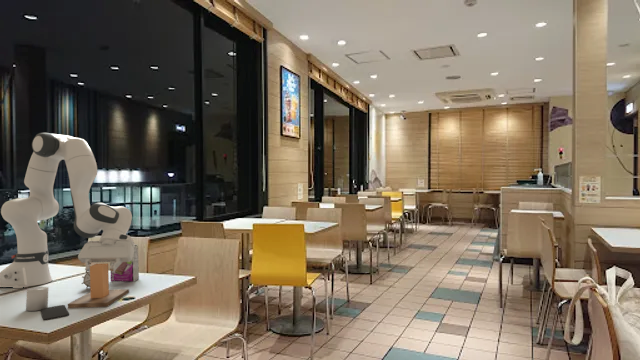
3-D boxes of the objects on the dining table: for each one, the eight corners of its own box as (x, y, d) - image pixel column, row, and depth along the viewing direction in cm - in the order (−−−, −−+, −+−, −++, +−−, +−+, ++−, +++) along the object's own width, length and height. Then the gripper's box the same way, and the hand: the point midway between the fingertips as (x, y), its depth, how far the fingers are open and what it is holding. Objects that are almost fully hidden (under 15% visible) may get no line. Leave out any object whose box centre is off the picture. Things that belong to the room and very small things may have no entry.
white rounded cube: (28, 311, 142) (29, 291, 142) (23, 308, 146) (24, 288, 147) (49, 308, 147) (50, 288, 147) (44, 305, 151) (45, 286, 151)
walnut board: (67, 307, 147) (67, 303, 147) (94, 293, 165) (93, 290, 165) (107, 306, 147) (107, 302, 147) (129, 292, 165) (128, 289, 165)
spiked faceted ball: (90, 298, 172) (74, 282, 167) (90, 286, 179) (75, 271, 174) (110, 286, 174) (95, 270, 169) (109, 275, 181) (95, 260, 176)
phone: (64, 304, 150) (69, 314, 138) (64, 306, 150) (69, 316, 138) (40, 308, 146) (43, 319, 134) (40, 311, 146) (43, 321, 134)
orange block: (90, 298, 154) (89, 266, 154) (96, 294, 158) (96, 263, 158) (103, 297, 154) (102, 266, 154) (108, 294, 158) (108, 263, 158)
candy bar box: (109, 281, 184) (109, 245, 184) (116, 279, 189) (115, 243, 189) (133, 282, 183) (132, 245, 183) (139, 279, 188) (138, 243, 188)
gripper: (83, 236, 164) (69, 266, 154) (134, 236, 165) (123, 265, 155) (89, 246, 169) (76, 275, 159) (139, 245, 169) (129, 274, 159)
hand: (100, 270), depth 157 cm, fingers open, 8 cm apart
